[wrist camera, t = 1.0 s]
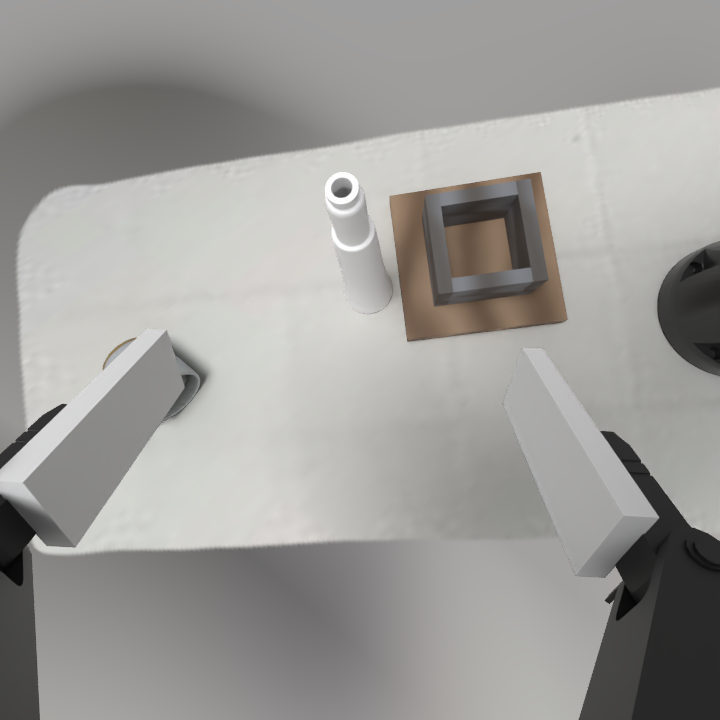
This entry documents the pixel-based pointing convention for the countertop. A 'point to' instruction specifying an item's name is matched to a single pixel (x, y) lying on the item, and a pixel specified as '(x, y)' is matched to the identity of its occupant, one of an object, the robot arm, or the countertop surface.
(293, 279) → the countertop surface
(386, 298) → the cosmetic bottle
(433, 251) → the bottle holder
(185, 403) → the ceramic mug
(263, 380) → the countertop surface
